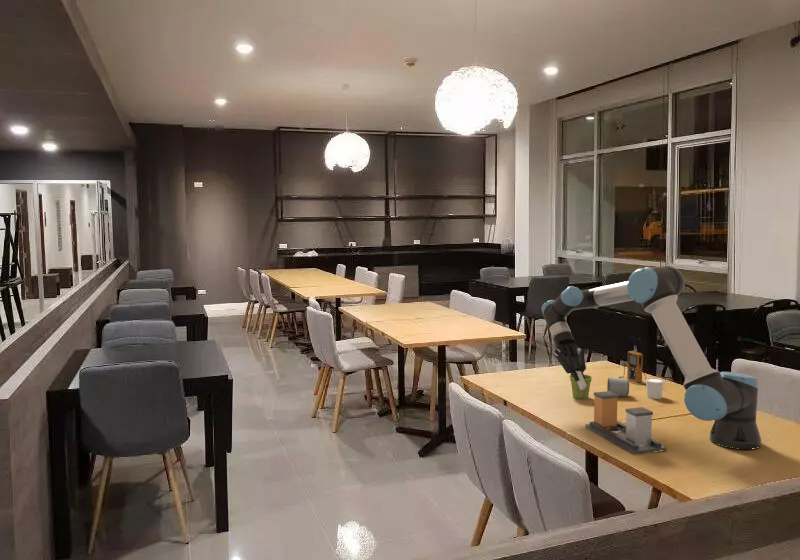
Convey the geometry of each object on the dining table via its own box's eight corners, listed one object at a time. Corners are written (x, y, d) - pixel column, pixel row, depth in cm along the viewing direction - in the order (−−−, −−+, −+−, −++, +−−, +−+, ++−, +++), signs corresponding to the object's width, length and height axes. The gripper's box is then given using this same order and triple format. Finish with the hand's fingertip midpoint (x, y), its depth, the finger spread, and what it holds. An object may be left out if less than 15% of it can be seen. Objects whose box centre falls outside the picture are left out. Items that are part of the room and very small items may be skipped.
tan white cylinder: (667, 398, 270) (667, 381, 270) (653, 400, 268) (654, 383, 267) (654, 394, 277) (655, 377, 276) (641, 395, 274) (642, 379, 273)
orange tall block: (593, 422, 235) (593, 392, 234) (608, 420, 236) (609, 391, 235) (601, 427, 229) (602, 396, 228) (617, 425, 231) (618, 395, 230)
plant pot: (564, 397, 273) (564, 376, 272) (577, 392, 279) (577, 372, 279) (583, 401, 266) (584, 380, 265) (596, 397, 272) (597, 376, 272)
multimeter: (608, 378, 303) (609, 335, 301) (627, 376, 306) (628, 334, 304) (628, 386, 289) (629, 341, 287) (647, 384, 292) (649, 340, 290)
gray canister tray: (585, 427, 234) (586, 394, 233) (615, 424, 238) (615, 391, 236) (633, 454, 207) (634, 417, 206) (665, 450, 211) (667, 414, 209)
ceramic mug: (629, 398, 270) (630, 380, 270) (609, 397, 272) (609, 379, 271) (625, 392, 281) (625, 374, 280) (605, 391, 282) (605, 373, 281)
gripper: (573, 340, 264) (594, 391, 250) (543, 342, 260) (564, 394, 246) (580, 329, 258) (603, 381, 244) (550, 331, 255) (571, 384, 240)
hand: (583, 387), depth 245 cm, fingers closed
